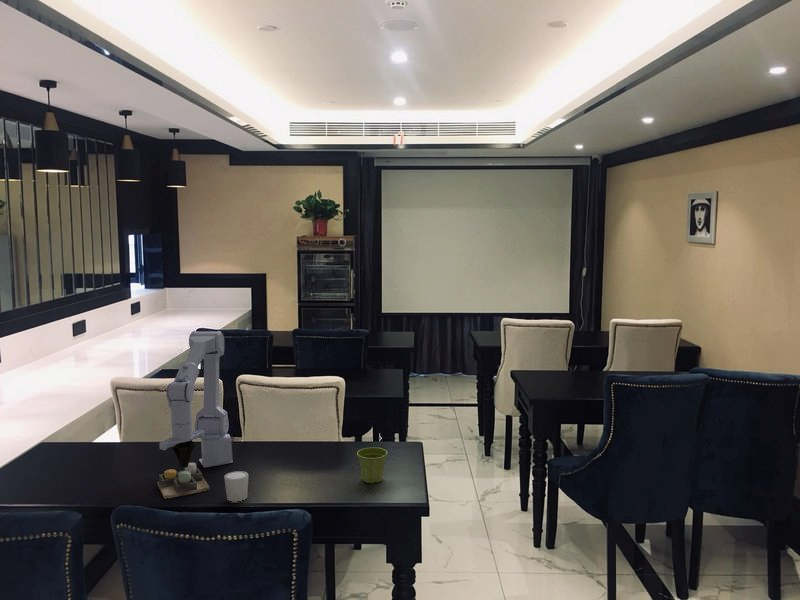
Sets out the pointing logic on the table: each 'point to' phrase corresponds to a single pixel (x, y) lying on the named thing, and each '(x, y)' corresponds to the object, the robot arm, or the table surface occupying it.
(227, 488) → the white cup
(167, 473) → the amber button
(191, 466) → the white small cylinder
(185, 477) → the sage button
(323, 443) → the table surface
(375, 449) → the plant pot
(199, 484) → the button panel board
